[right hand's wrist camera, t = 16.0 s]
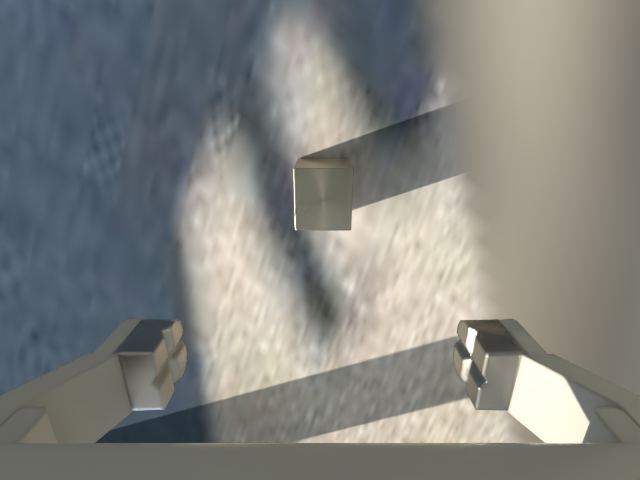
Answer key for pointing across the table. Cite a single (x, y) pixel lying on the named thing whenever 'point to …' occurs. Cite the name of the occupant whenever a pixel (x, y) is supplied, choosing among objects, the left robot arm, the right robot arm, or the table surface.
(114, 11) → the table surface
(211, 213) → the table surface
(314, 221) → the grey cube-shaped block
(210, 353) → the table surface
